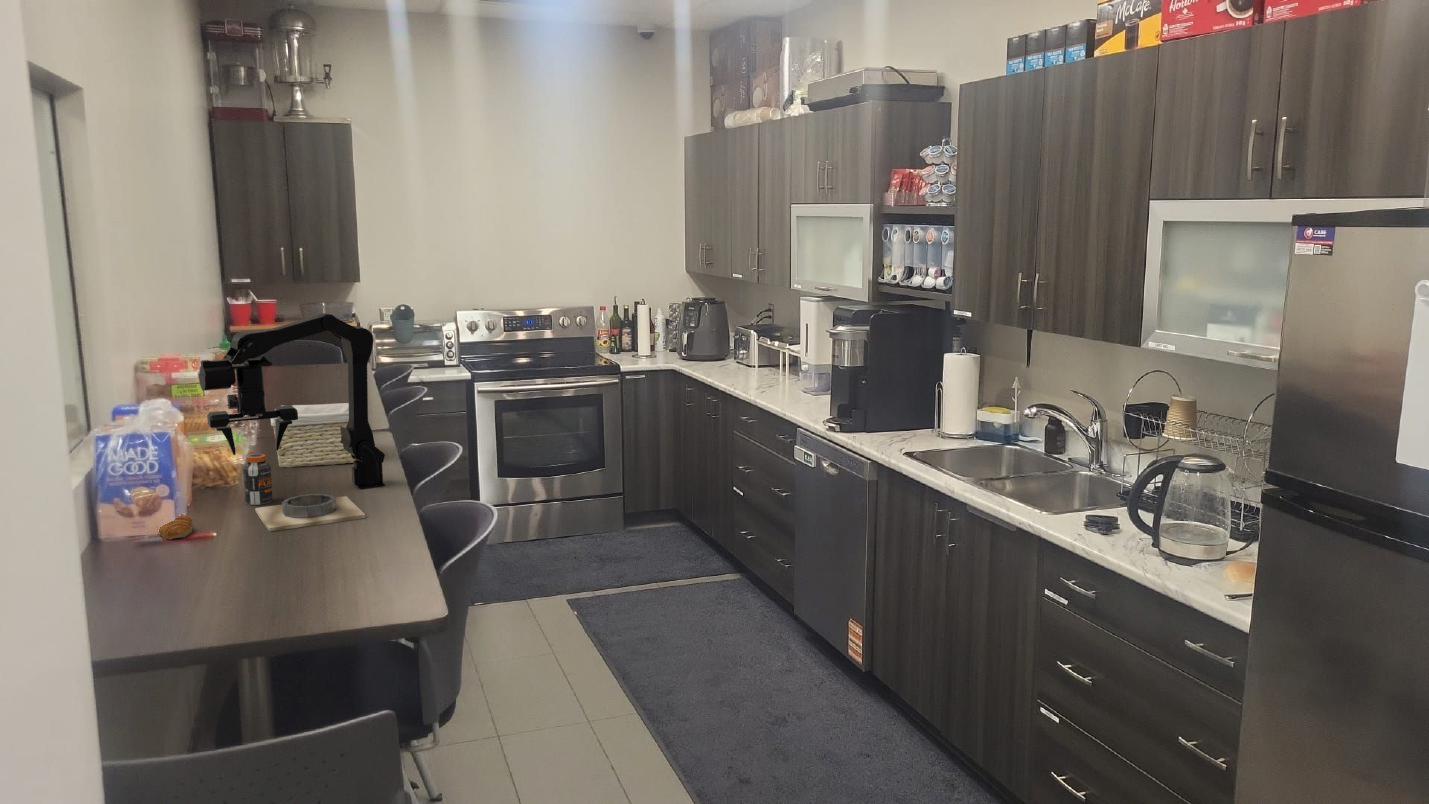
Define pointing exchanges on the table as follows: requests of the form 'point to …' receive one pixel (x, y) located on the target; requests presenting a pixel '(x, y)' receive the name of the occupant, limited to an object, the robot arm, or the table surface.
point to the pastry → (177, 528)
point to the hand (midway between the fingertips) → (255, 452)
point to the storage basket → (314, 436)
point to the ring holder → (308, 512)
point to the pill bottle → (257, 480)
